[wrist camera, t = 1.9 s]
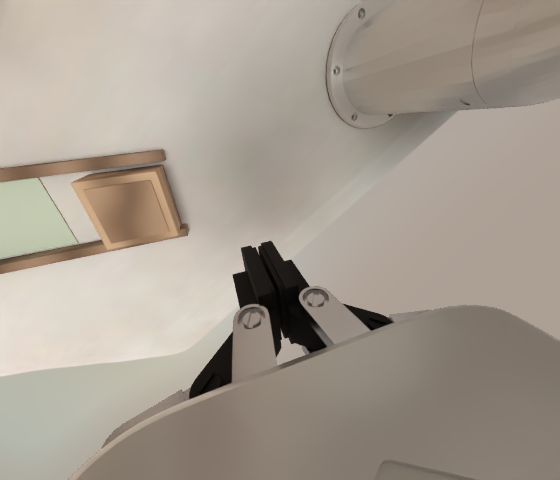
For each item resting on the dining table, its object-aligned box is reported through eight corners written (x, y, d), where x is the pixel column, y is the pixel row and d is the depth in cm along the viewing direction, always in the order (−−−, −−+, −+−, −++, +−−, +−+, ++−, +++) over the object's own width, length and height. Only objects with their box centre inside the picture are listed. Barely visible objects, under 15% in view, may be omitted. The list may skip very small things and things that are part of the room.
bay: (162, 149, 24) (159, 151, 23) (188, 230, 29) (187, 237, 27) (-124, 183, 19) (-156, 188, 17) (-34, 275, 24) (-52, 286, 22)
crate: (161, 164, 24) (155, 171, 21) (180, 222, 28) (178, 236, 24) (89, 174, 23) (69, 183, 19) (119, 233, 26) (106, 250, 23)
